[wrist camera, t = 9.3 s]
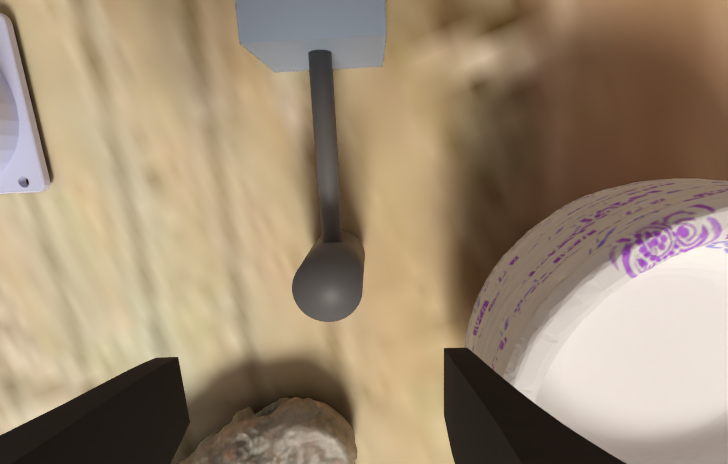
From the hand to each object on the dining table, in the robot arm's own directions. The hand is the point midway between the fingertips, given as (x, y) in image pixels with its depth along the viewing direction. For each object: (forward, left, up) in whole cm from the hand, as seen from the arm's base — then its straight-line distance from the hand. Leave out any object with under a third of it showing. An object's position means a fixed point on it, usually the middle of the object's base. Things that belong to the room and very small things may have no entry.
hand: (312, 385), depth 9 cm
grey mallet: (0, +8, -9) cm, 13 cm away
